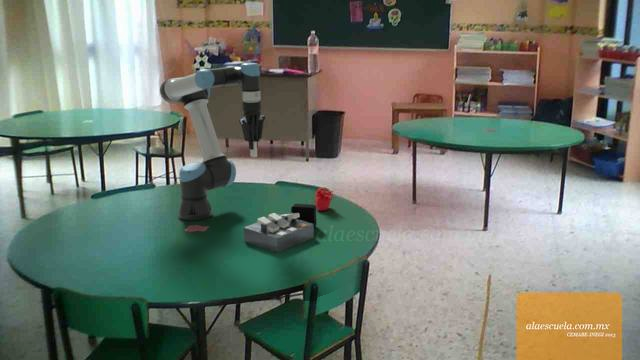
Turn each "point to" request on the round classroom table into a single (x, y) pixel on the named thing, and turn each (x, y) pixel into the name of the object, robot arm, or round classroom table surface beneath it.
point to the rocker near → (268, 224)
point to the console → (279, 234)
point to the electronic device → (305, 212)
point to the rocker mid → (279, 220)
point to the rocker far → (292, 215)
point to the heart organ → (323, 199)
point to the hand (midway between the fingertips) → (253, 156)
